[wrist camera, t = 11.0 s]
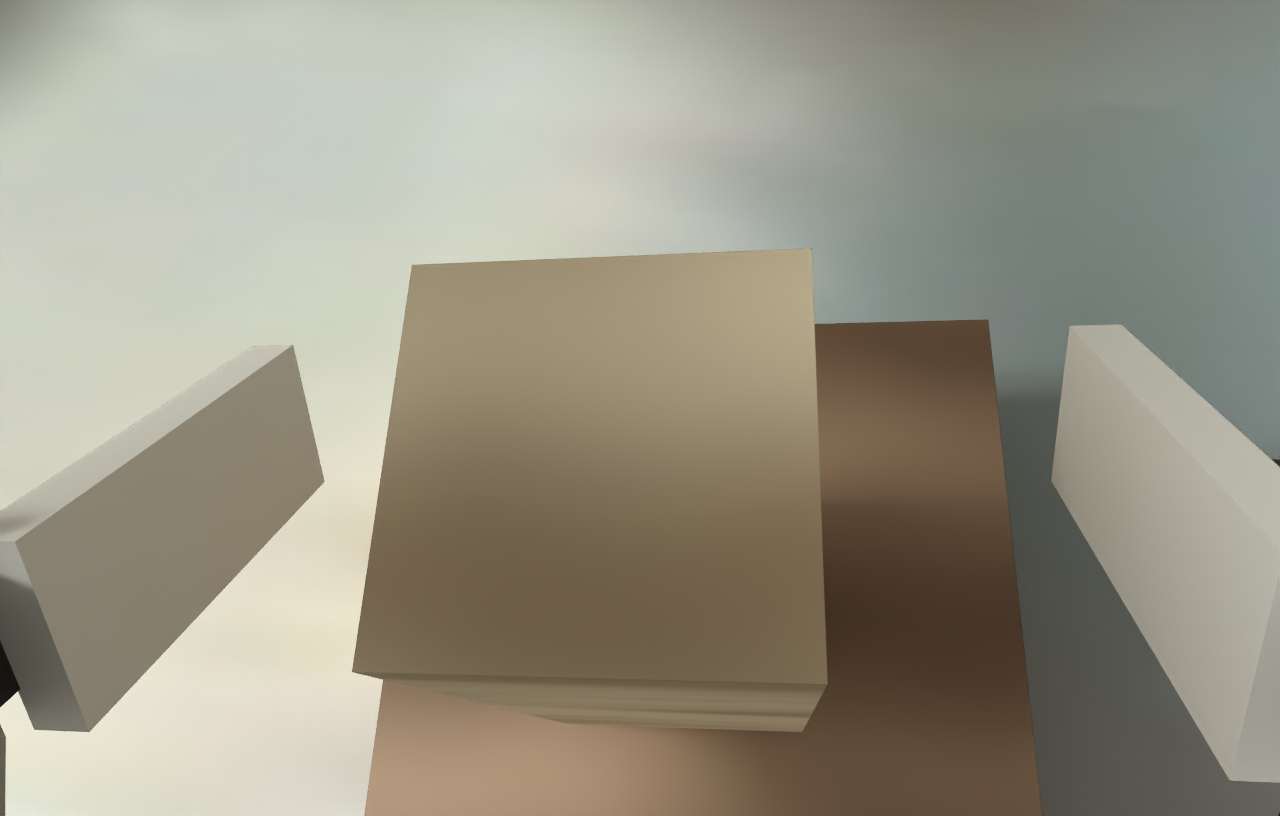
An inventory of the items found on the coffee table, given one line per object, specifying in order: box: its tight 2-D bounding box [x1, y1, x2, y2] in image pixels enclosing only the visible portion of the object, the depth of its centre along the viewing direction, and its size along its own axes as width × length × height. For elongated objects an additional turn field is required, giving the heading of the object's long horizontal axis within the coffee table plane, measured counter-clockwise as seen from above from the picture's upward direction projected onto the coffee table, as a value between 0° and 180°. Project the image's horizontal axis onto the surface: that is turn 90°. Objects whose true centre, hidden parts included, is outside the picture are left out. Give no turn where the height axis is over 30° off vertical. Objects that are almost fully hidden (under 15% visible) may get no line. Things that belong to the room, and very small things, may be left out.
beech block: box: [352, 248, 828, 732], centre depth 15 cm, size 5×5×11 cm
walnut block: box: [364, 320, 1042, 816], centre depth 23 cm, size 14×14×5 cm
